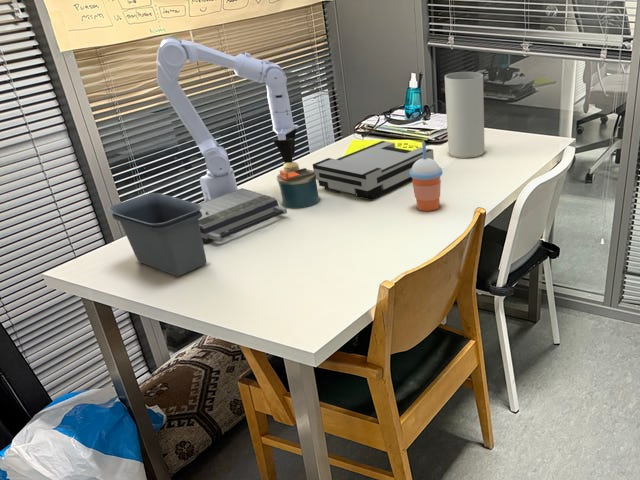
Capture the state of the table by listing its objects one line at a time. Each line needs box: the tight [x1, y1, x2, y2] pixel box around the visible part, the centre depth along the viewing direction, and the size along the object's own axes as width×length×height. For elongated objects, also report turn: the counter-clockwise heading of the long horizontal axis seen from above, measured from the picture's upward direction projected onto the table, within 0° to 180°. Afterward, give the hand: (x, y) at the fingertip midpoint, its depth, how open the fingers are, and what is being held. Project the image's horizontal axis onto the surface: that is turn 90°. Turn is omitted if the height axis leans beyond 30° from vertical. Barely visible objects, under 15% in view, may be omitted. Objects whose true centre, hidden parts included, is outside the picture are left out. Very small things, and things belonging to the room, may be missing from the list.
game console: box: [312, 140, 435, 201], centre depth 202 cm, size 21×32×8 cm, turn 147°
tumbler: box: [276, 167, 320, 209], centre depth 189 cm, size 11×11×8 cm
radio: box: [198, 187, 288, 244], centre depth 177 cm, size 24×5×20 cm
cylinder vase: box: [444, 71, 486, 159], centre depth 219 cm, size 12×12×25 cm
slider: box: [278, 169, 300, 180], centre depth 185 cm, size 4×4×2 cm
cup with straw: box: [409, 142, 443, 212], centre depth 180 cm, size 9×9×18 cm
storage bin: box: [107, 192, 207, 277], centre depth 156 cm, size 21×16×14 cm
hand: (289, 158), depth 192 cm, fingers open, 7 cm apart
